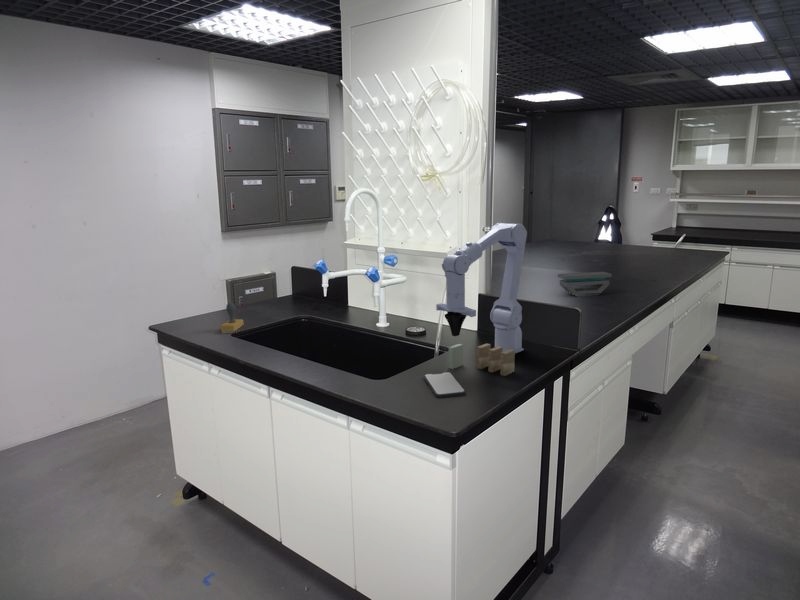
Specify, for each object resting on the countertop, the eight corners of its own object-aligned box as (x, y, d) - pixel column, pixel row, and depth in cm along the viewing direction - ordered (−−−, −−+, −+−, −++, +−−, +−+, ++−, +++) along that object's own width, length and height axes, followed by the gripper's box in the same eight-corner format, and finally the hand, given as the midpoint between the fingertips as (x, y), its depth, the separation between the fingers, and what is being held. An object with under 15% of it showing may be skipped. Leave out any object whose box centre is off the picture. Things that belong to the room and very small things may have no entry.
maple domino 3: (500, 374, 159) (500, 352, 158) (509, 370, 163) (510, 349, 161) (504, 375, 158) (505, 353, 157) (514, 371, 162) (514, 350, 160)
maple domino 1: (476, 368, 166) (476, 346, 164) (486, 364, 169) (486, 343, 167) (480, 369, 164) (481, 347, 163) (490, 365, 168) (490, 344, 166)
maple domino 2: (488, 371, 162) (488, 349, 161) (497, 367, 166) (498, 346, 164) (492, 372, 161) (492, 350, 160) (502, 368, 165) (502, 347, 163)
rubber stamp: (234, 334, 213) (232, 305, 210) (221, 334, 213) (218, 305, 211) (244, 327, 223) (241, 300, 220) (231, 327, 223) (228, 300, 221)
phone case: (467, 397, 145) (450, 376, 160) (467, 391, 144) (450, 371, 160) (436, 400, 143) (422, 379, 158) (436, 395, 143) (422, 374, 158)
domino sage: (448, 368, 166) (448, 347, 165) (458, 364, 169) (458, 343, 168) (452, 369, 165) (452, 348, 163) (462, 365, 168) (462, 344, 167)
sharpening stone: (602, 292, 273) (603, 271, 271) (610, 295, 266) (611, 274, 263) (557, 294, 270) (557, 273, 268) (563, 297, 263) (564, 276, 260)
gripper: (429, 292, 165) (430, 333, 167) (465, 298, 154) (465, 342, 157) (444, 289, 169) (444, 329, 172) (480, 294, 159) (480, 337, 162)
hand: (455, 335), depth 165 cm, fingers closed
